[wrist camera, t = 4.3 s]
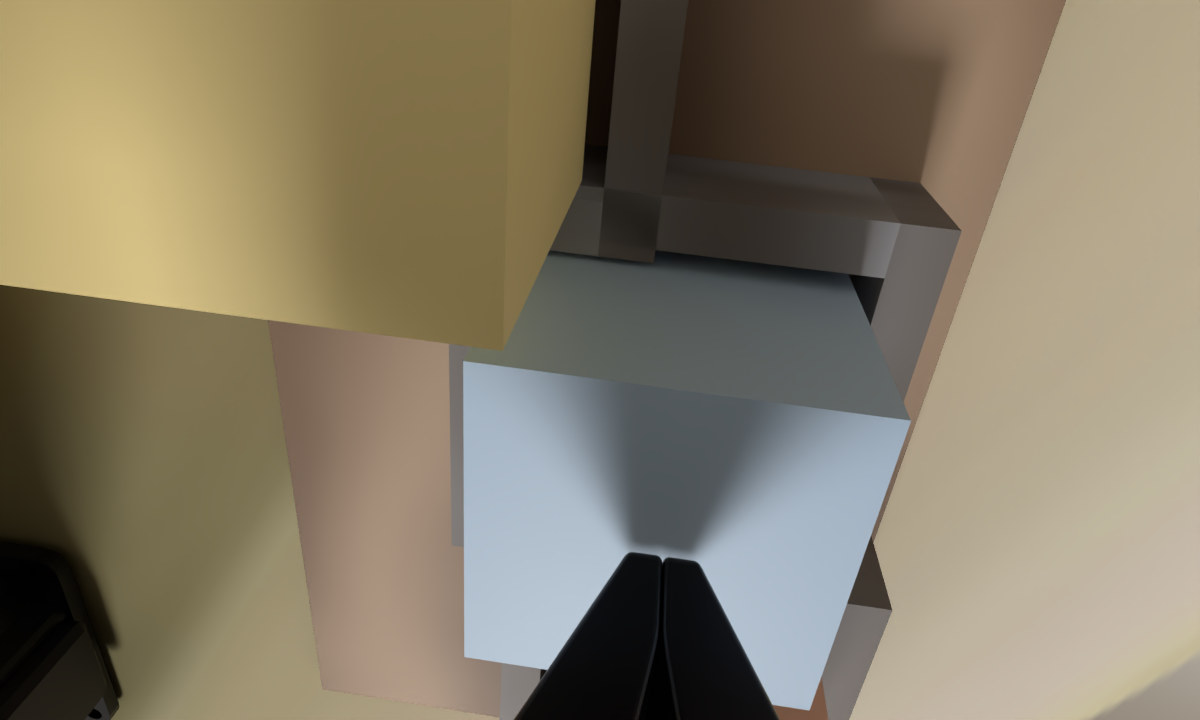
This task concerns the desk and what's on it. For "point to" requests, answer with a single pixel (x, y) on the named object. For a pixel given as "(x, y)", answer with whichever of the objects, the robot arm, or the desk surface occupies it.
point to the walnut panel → (633, 232)
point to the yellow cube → (294, 156)
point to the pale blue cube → (677, 452)
